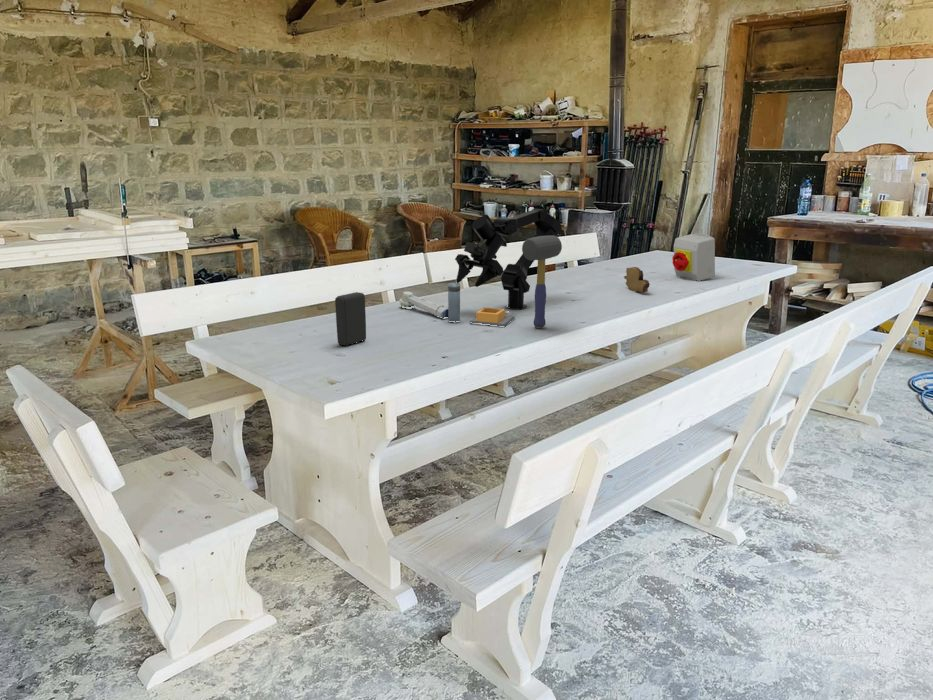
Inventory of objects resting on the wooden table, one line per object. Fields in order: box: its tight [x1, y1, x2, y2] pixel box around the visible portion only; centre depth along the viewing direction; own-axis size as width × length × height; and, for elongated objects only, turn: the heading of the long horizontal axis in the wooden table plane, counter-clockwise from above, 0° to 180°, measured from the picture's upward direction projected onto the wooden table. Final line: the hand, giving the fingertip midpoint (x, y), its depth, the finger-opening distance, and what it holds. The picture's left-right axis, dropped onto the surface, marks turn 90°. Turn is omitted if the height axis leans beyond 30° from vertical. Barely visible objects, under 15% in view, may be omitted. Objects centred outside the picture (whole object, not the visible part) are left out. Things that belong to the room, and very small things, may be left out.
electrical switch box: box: [671, 232, 716, 282], centre depth 306 cm, size 15×15×20 cm
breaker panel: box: [469, 307, 516, 327], centre depth 234 cm, size 12×12×4 cm
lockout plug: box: [447, 282, 461, 322], centre depth 233 cm, size 4×4×13 cm
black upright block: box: [334, 291, 367, 346], centre depth 208 cm, size 9×4×15 cm, turn 141°
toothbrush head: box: [399, 291, 448, 318], centre depth 247 cm, size 5×7×25 cm
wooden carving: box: [623, 266, 651, 294], centre depth 281 cm, size 16×5×10 cm, turn 22°
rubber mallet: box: [521, 235, 563, 329], centre depth 223 cm, size 12×8×30 cm, turn 133°
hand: (466, 284), depth 235 cm, fingers open, 9 cm apart
